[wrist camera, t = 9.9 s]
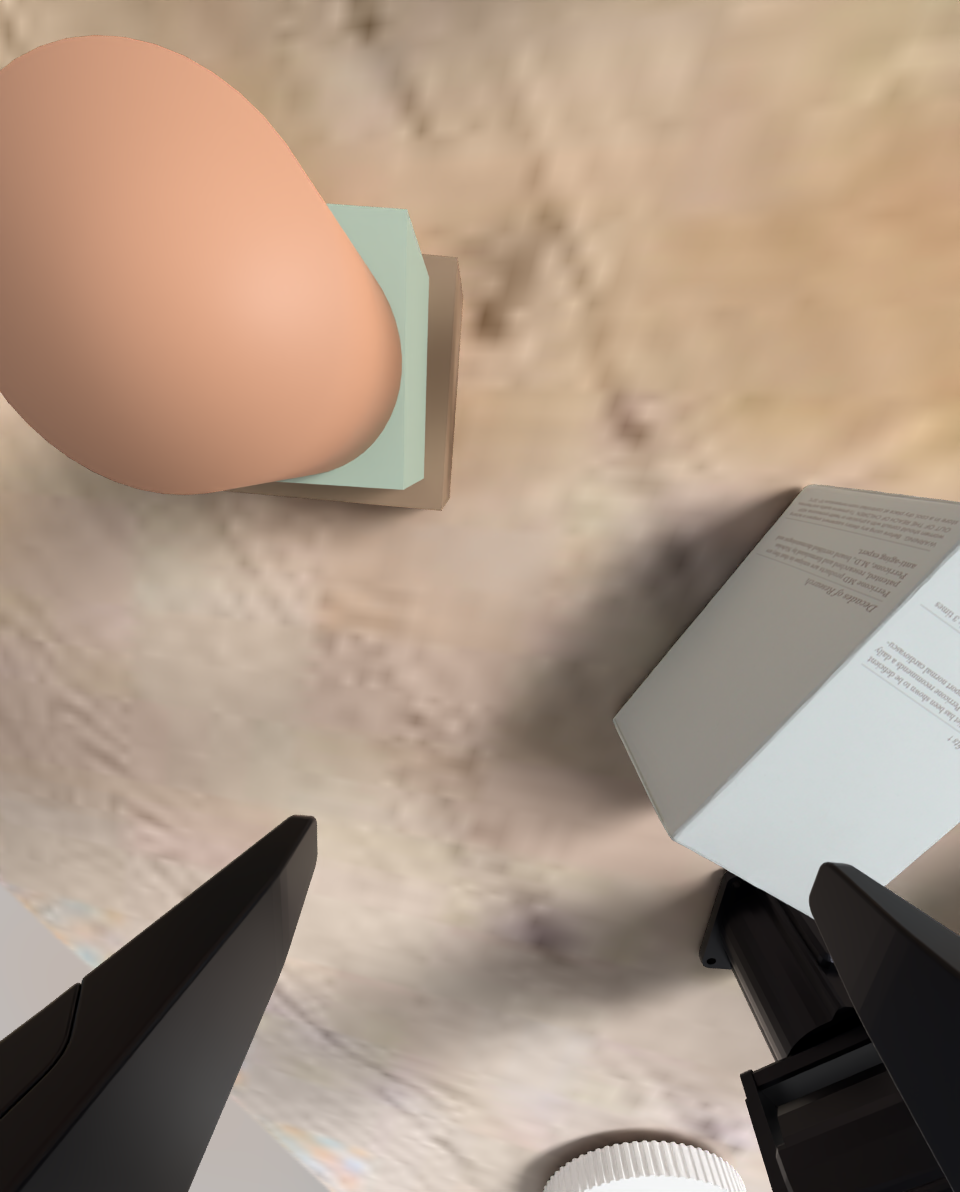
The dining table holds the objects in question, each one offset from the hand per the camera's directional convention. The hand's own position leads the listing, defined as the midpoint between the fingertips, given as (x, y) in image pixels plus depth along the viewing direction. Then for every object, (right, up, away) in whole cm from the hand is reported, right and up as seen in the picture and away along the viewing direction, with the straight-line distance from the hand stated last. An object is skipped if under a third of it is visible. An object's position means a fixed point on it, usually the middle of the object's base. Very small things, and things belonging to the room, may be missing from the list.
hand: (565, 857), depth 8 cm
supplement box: (+14, +6, +7) cm, 17 cm away
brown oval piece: (-6, +10, +2) cm, 12 cm away
